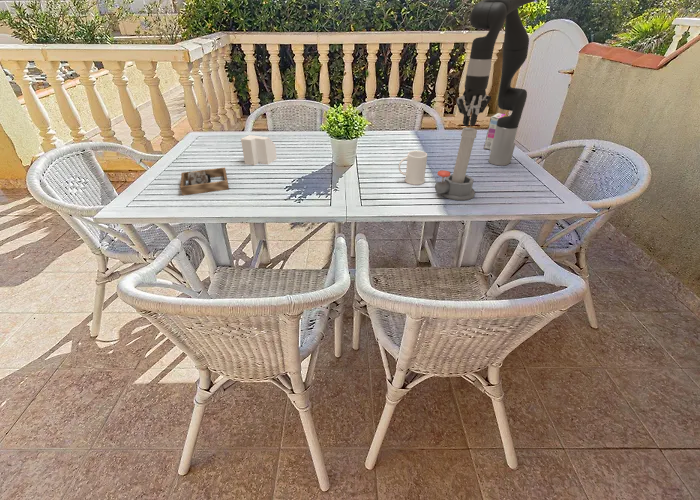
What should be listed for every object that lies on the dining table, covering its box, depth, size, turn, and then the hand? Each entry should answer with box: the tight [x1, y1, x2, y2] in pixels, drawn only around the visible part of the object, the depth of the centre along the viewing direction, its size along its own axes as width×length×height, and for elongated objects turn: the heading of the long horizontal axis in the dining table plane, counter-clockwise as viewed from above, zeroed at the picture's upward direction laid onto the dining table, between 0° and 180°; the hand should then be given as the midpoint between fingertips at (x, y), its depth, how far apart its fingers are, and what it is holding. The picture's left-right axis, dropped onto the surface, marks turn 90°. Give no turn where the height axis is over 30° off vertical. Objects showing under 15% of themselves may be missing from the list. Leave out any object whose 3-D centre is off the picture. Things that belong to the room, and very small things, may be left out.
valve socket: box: [434, 169, 476, 202], centre depth 146 cm, size 17×14×10 cm
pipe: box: [452, 121, 478, 184], centre depth 140 cm, size 6×6×30 cm
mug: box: [398, 150, 428, 186], centre depth 156 cm, size 12×8×12 cm
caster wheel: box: [188, 171, 211, 185], centre depth 155 cm, size 7×11×10 cm
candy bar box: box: [483, 112, 507, 151], centre depth 191 cm, size 11×5×16 cm, turn 144°
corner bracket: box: [240, 134, 278, 166], centre depth 175 cm, size 11×11×12 cm
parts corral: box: [179, 167, 230, 196], centre depth 155 cm, size 18×16×4 cm
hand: (468, 125), depth 134 cm, fingers closed
